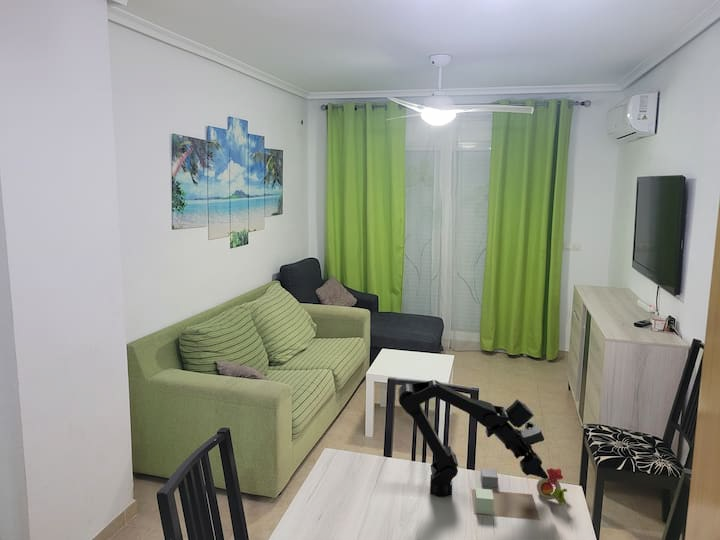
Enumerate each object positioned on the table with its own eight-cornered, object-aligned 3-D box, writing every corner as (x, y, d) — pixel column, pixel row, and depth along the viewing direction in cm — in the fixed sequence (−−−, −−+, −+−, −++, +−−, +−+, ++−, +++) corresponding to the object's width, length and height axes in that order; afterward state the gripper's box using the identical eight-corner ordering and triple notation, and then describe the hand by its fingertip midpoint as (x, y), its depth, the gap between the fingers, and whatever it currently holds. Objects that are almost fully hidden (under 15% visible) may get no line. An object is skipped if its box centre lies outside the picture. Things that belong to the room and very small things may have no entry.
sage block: (475, 513, 163) (476, 497, 162) (474, 503, 168) (475, 488, 167) (492, 514, 163) (493, 499, 162) (491, 504, 168) (492, 489, 167)
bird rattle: (545, 511, 170) (574, 504, 168) (532, 480, 169) (561, 472, 167) (542, 500, 176) (569, 492, 174) (529, 469, 175) (557, 461, 173)
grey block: (481, 490, 178) (482, 476, 177) (480, 481, 183) (481, 468, 182) (497, 491, 177) (498, 477, 176) (495, 483, 182) (496, 469, 181)
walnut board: (473, 518, 163) (474, 513, 163) (471, 493, 176) (471, 489, 176) (539, 524, 161) (540, 519, 161) (531, 498, 173) (532, 494, 173)
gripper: (536, 433, 159) (572, 469, 161) (521, 406, 177) (553, 438, 179) (507, 457, 161) (543, 493, 162) (495, 428, 179) (527, 460, 181)
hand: (542, 469), depth 171 cm, fingers open, 9 cm apart
